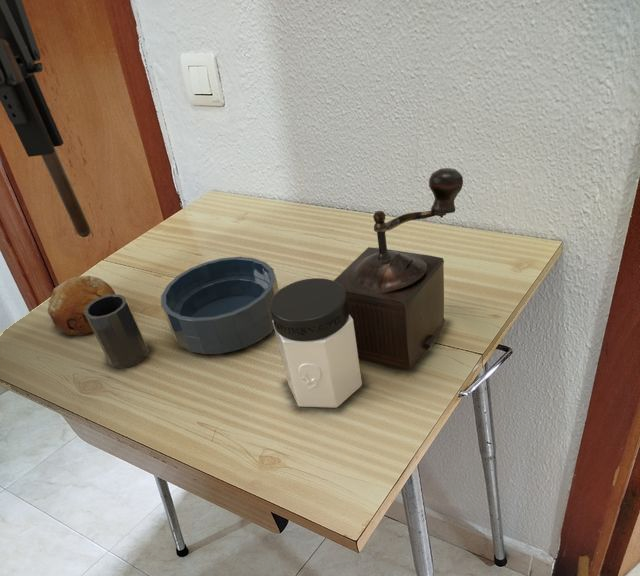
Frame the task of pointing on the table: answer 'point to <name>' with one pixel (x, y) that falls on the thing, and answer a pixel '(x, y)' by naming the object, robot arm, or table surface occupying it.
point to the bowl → (221, 305)
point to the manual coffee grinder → (400, 288)
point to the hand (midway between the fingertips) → (46, 149)
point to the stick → (55, 165)
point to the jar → (316, 342)
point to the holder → (116, 330)
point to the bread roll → (76, 303)
